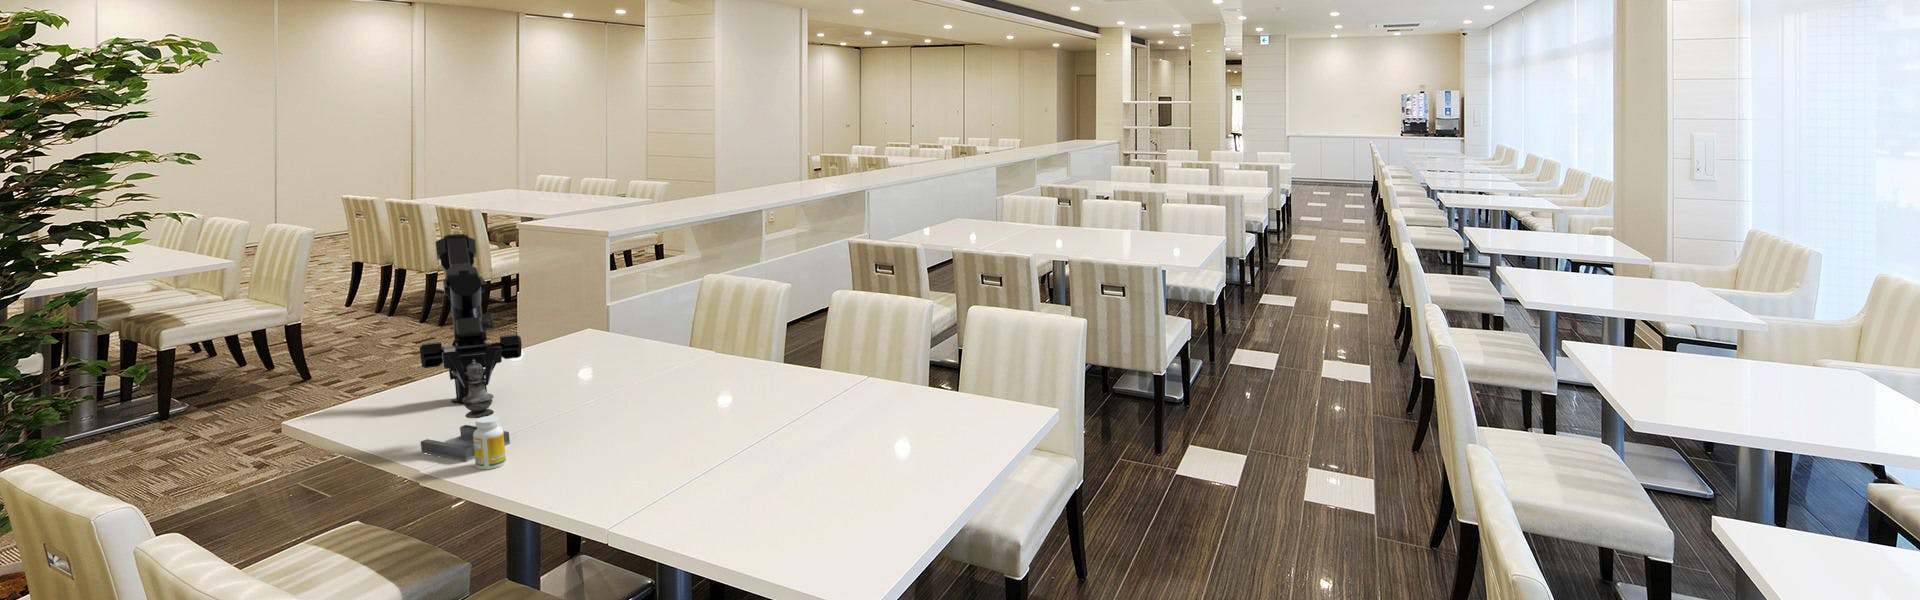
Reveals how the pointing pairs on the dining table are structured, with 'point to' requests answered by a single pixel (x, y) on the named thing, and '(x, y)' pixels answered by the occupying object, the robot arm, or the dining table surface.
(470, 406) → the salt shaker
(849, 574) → the dining table surface
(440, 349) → the robot arm
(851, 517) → the dining table surface
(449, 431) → the dining table surface
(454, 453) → the floor track
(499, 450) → the supplement bottle
